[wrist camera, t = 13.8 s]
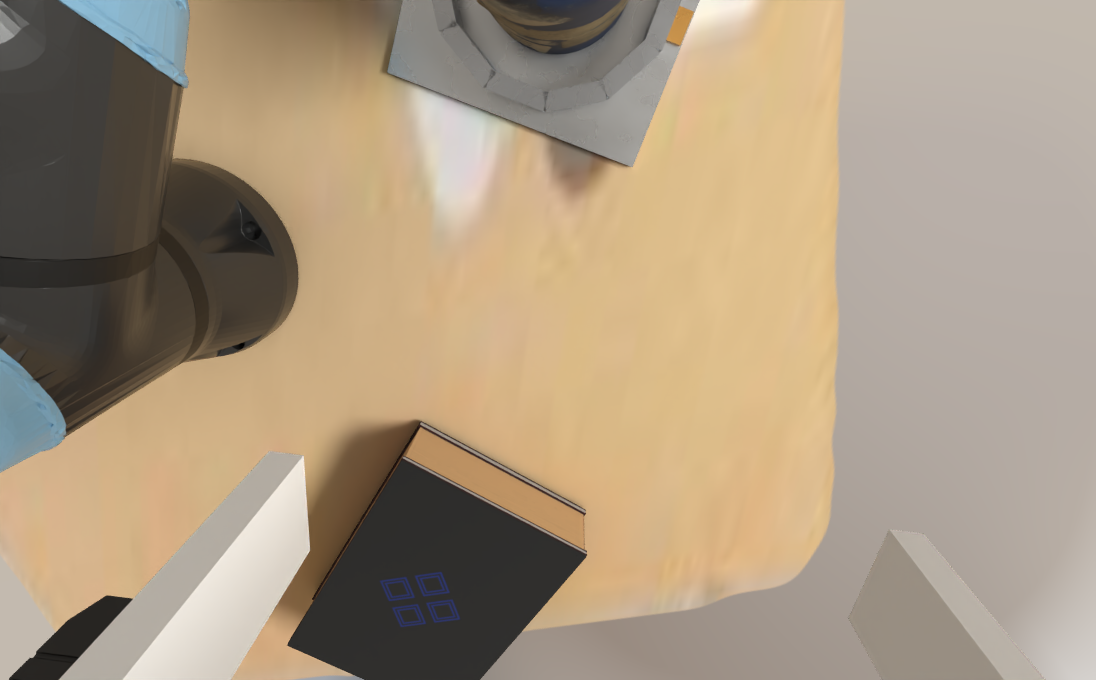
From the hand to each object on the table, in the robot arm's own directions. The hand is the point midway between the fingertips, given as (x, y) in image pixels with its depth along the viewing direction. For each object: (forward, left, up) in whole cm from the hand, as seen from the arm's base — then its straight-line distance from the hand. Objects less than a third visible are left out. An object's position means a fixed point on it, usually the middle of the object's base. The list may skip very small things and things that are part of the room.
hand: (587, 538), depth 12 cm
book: (-2, -33, -32) cm, 46 cm away
